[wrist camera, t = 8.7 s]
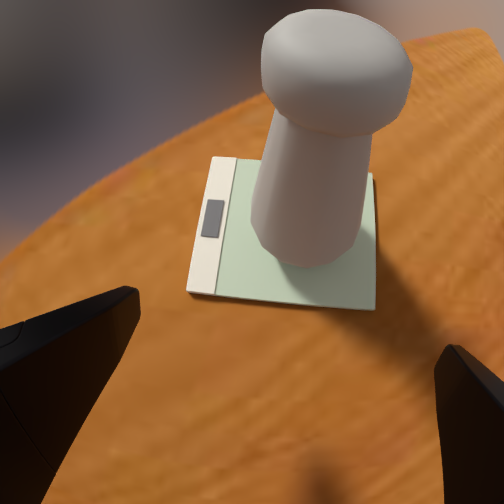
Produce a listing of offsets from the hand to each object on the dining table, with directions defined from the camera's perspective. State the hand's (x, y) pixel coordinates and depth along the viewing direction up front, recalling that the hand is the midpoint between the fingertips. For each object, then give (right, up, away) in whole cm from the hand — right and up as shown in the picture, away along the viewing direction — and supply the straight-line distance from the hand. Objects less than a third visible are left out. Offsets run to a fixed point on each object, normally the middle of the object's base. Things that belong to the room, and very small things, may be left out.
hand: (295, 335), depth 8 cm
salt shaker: (+2, +3, +11) cm, 11 cm away
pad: (+2, +4, +11) cm, 12 cm away
